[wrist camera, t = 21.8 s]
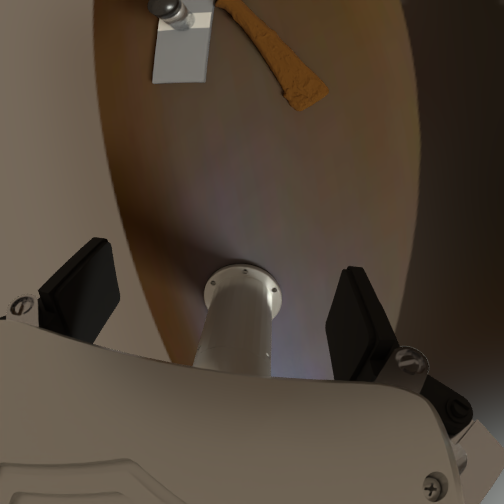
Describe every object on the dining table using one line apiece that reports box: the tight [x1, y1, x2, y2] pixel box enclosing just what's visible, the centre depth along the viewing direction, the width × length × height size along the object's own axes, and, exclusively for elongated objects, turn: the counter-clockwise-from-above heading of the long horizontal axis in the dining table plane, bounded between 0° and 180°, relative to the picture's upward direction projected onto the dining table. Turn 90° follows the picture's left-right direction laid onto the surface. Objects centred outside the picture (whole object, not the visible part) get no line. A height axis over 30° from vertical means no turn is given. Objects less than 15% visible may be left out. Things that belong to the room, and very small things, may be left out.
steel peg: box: [148, 0, 195, 31], centre depth 22 cm, size 3×3×8 cm
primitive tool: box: [215, 0, 329, 111], centre depth 27 cm, size 19×6×4 cm, turn 39°
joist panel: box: [152, 0, 215, 84], centre depth 26 cm, size 18×7×1 cm, turn 175°
